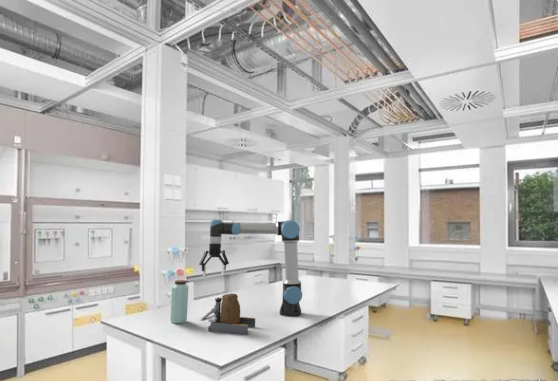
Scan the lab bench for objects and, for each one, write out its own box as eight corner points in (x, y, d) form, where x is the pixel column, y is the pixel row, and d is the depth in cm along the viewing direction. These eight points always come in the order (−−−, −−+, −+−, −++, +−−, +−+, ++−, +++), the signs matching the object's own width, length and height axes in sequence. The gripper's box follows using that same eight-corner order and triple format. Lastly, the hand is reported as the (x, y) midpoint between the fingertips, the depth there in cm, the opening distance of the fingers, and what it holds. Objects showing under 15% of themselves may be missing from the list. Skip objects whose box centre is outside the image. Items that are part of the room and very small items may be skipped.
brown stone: (226, 332, 209) (227, 296, 210) (218, 328, 214) (220, 294, 216) (241, 328, 216) (242, 294, 218) (233, 325, 222) (235, 292, 223)
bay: (255, 326, 220) (255, 318, 221) (247, 335, 204) (247, 325, 205) (218, 323, 225) (218, 314, 226) (207, 331, 209) (208, 321, 210)
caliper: (215, 313, 250) (216, 304, 251) (217, 313, 250) (217, 304, 250) (200, 320, 231) (200, 310, 231) (201, 321, 230) (202, 310, 231)
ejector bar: (225, 323, 225) (226, 295, 226) (214, 331, 208) (216, 301, 209) (219, 322, 226) (220, 295, 227) (208, 331, 209) (209, 301, 210)
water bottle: (190, 320, 230) (192, 280, 232) (180, 324, 220) (182, 282, 222) (176, 318, 233) (178, 279, 235) (166, 322, 223) (169, 281, 225)
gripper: (229, 242, 252) (227, 273, 250) (195, 242, 237) (193, 275, 236) (234, 243, 246) (233, 275, 244) (199, 243, 231) (198, 277, 230)
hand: (213, 275), depth 240 cm, fingers open, 13 cm apart
